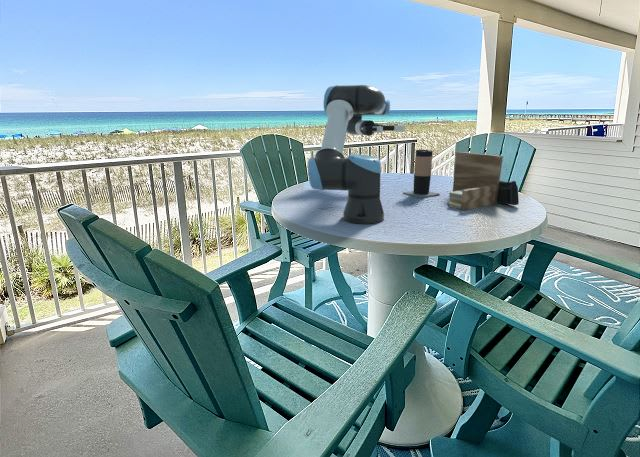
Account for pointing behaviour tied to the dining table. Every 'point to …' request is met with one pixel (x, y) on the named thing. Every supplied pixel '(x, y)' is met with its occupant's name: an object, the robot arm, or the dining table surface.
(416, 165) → the travel mug
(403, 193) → the grey mat
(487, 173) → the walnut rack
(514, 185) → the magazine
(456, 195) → the offcut stack
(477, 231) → the dining table surface
